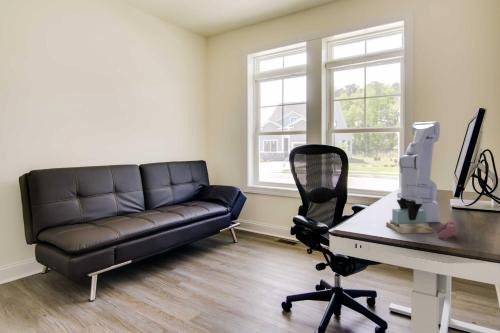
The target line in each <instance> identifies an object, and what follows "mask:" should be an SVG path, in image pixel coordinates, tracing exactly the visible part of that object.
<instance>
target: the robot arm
mask: <svg viewBox="0 0 500 333" xmlns="http://www.w3.org/2000/svg"><path fill="white" fill-rule="evenodd" d="M440 127H441V126H440V122H439V121H438V120H434V121H423V122H420V121H419V122H416V121H415V122H414V123H412V126H411V134H412V136H413V139H412V142H410V143H409V144H408V146H407V148H406V151H405V152H404V154H403V155H401V156H400V157H399V161H398V162H399V163H398V165H399V172H400V174H401V182H400V183H401V188H400V190H401V191H400V192H397V199H396V202H397V203H398V205H399V209H408V214H409V220H416V217H417V213H418V211H419V209H422V210H424V211H426V223H441V220H440V205H439V203H438V202H437V201H436V200H437V197H438V189H437V188H438V186H437V183H436V182H435V181H433V180H432V179H431V172H432V163H433V153H434V152H433V151H434V146H435V143H436V142H438V141H439V139H440V133H441V128H440Z"/></svg>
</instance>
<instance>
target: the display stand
mask: <svg viewBox="0 0 500 333" xmlns="http://www.w3.org/2000/svg"><path fill="white" fill-rule="evenodd" d="M385 223H386V224H385V226H386V227H388V229H391V230H393V231H395V232H397V233H399V234H424V233H425V234H427V233H429V234H430V233H434V228H433V227H430V226H429V225H430V224H429V222H426V223H422V224H397V223H395V222H393V221H392V218H390V219H389V221H386V222H385Z"/></svg>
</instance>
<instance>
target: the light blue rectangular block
mask: <svg viewBox="0 0 500 333" xmlns="http://www.w3.org/2000/svg"><path fill="white" fill-rule="evenodd" d="M391 213H392V218H391V219H392V221H393V222H395V223H397V224H422V223H427V222H426V211H424V210H422V209H419V211H418V213H417V217H416V220H409V214H408V209H400V208H392V212H391Z"/></svg>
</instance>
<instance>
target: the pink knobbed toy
mask: <svg viewBox="0 0 500 333" xmlns="http://www.w3.org/2000/svg"><path fill="white" fill-rule="evenodd" d="M436 231H437V232H438V234H437V238H438V239H440V238H441V239H440V240H443V239H447V238H448V239H450V238H451V237H452V236H453V235H454V234H457V233H458V227H457V222H456V221H453V220H449V221H447V222H445V223H444V224H442V225H441V226H438V228H437V229H436Z"/></svg>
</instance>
